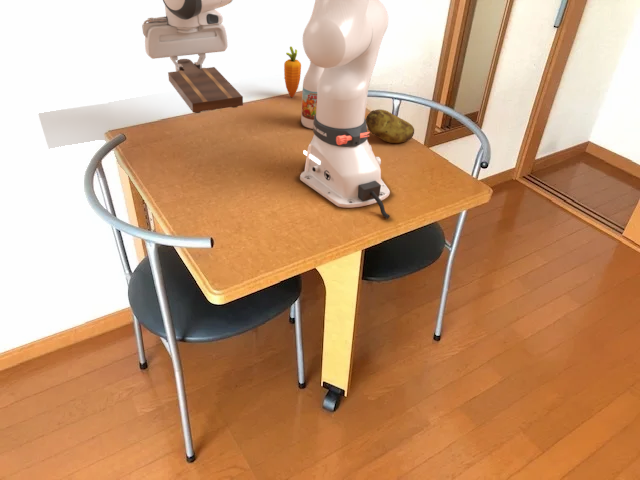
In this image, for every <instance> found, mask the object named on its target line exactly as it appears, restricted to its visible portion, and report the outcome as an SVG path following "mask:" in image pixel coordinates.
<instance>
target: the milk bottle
mask: <svg viewBox="0 0 640 480" xmlns="http://www.w3.org/2000/svg"><path fill="white" fill-rule="evenodd" d="M323 71H324V68H322V67H319V66H317V65H315V64H314V63H313V62H312V61H311V60H310V59H309V67H308V69H307V71H306V73H305V75H304V78H303V81H302V93H301V117H300V122H301V125H302V126H303V127H305V128H307V129H312V130H313V121H314V116H315V114H316V107H317V89H318V82H319V79H320V77H321V75H322V73H323Z"/></svg>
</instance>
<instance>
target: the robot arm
mask: <svg viewBox="0 0 640 480" xmlns="http://www.w3.org/2000/svg"><path fill="white" fill-rule="evenodd" d="M162 1H163V4H164V10H165V16H159V17H148V18H147V19H146V20H144V21H143V23H142V24H141V28H142V34H143V36H144V37H145V38H144V43H145V44H144V49H145V53H146V54H147V56H148V57H150V58H151V59H152V60H153V59H163V58H164V59H165V58H169V59H170V60H171V62H172V63H173V64H174V66H175V72H176V71H180V70H182V71H183V66H182V65H181V64H178V63H177V61H178V60H179V57H183V56H192V55H193V56H194V55H197V56H198V59H197V61H196V62H193V63H194V65H195V66H196V67H197V68H198V69H201V68H203V64H204V62H205V59H206V57H207V55H206V54H210V53H211V54H213V53H222V52H225V51H226V50H227V48H228V35H227V30H226V28H225V26H224V24H222V23H223V19H224V18H223V16H222V15H223V14H221V13H220V12H219V11H218V10H217V9H219V8H223V7H225V6H227V5H230V4H231V3H232V2H233V0H162ZM388 25H389V14H388V11H387V8H386V6H385V5H384V4H383V2H381V0H315V1H314V5H313V9H312V13H311V16H310V19H309V21H308V23H307V24H306V26H305V28H304V29H303V33H302V48H303V50H304V53H305V56H306V57H307V58H308V59H309V61H310V60H311V61H312V62H313V63H314V64H315V65H317V66H319V67H322V68H324V71H323V73H322V75H321V77H320V79H319V82H318V89H317V107H316V114H315V116H314V121H313V129H312V132H313V136H312V139H311V141H310V142H309V144H308V145H307V150H305V149H304V150H303V155H305V156H306V157H305V165H304V171H302V172H301V173H300V176H299V180H300V181H301V182H302V183H304V184H305V185H306V186H308V187H310V188H311V189H312V190H314V191H315V192H317V193H318V194H319V195H320V196H322V197H323V198H325V199H326V200H327V201H329V202H331V203H332V204H334V205H335V206H336V207H338V208H348V209H349V208H351V209H352V208H360V207H365V206H369V205H373V204H376V203H377V205H378V206H379V210H380V214H381V216H383V217H384V218H385V219H387V220H388V219H390V216H391V215H389V214H388V213H387V212H386V209H385V205H384V203H383V202H382V201H384V200H386V199H387V198H388V197H389V196H390V194H391V191H390V189H389V187H388V186H387V185H386V183H385V181H383V179H382V170H381V164H382V160H381V157H380V156H375V153H374V151H373V148H372V145H371V144H370V143H369V140H368V137H370V135H369V134H370V133H371V132H370V131H368V127H367V124H366V112H367V111H366V110H367V102H368V94H369V87H370V84H371V79H372V76H373V73H374V70H375V66H376V62H377V59H378V55H379V51H380V48H381V43H382V40H383V38H384V36H385V34H386V32H387V29H388V27H389V26H388Z"/></svg>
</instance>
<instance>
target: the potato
mask: <svg viewBox="0 0 640 480" xmlns="http://www.w3.org/2000/svg"><path fill="white" fill-rule="evenodd" d="M365 119H366V125H367V131H368V132H370V133H371V134H372V135H374V136H375V137H377V138H380V139H381V140H383V141H385V142H387V143H391V144H400V143H401V144H402V143H404V142H407V141H410V140H411V139H413V137H414V135H415V128H414V126H413V124H411V123H409V122H408V121H407V120H404V119H403V118H400V117H399V116H397V115H395V114H394V113H391V112H390V111H388V110H385V109H381V108H380V109H373V110H371V111H370V112H369V113H368V114H367V116H365Z"/></svg>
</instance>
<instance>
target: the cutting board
mask: <svg viewBox="0 0 640 480" xmlns="http://www.w3.org/2000/svg"><path fill="white" fill-rule="evenodd" d="M176 62H177V63H178V64H181V65H182V66H183V71H182V70H180V71H176V70H175V71H169V72H167V74H168V75H167V77H168V82H169V83H170V84H171V85H172V87H173V88H174V89H175V91H176V92H177V93H178V94H179V96H180V97H181V99H182V100H183V101H184V103H185V104H186V105H187V107H188V108H189V109H190V111H191V112H192V113H194V114H200V113H201V112H207V111H208V112H209V111H215V110H222V109H227V108H238V107H241V106H244V97H243V95H242V94H241V93H240V92H239V91H238V90H237V89H236V88H235V87H234V86H233V85H232V83H230V81H228V79H226V78H225V76H224V75H223V74H222V73H221V72H220V71H219V70H218V69H217V68H216V67H215V66H212V67H211V66H210V67H202V68H201V69H198V68H197V67H196V66H195V65H194V62H193V61H192V60H191V59H188V58H180V59H178V60H176Z"/></svg>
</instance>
